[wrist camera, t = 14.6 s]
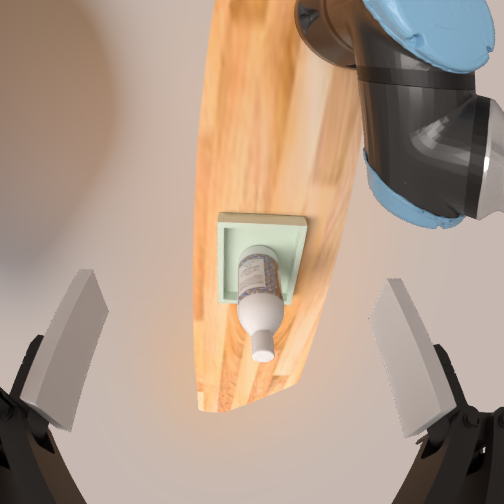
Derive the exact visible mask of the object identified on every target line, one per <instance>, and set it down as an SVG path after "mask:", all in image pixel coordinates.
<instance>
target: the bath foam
mask: <svg viewBox="0 0 504 504" xmlns="http://www.w3.org/2000/svg"><path fill="white" fill-rule="evenodd" d="M237 312H238V317H239V321H240V323H241V325H242V326H243V328H244V329H245V330H246V332H247V333H248V334H249V335H250V336H251V337H252V357H253V359H254V360H255V361H257V362H268V361H271V360H272V359H273V358H274V356H275V354H274V342H273V335H274V334H275V332H276V331H277V330H278V328H279V327H280V325H281V323H282V320H283V316H284V302H283V294H282V287H281V280H280V273H279V266H278V260H277V256H276V254H275V253H274V252H273V251H272V250H271V249H269V248H267V247H264V246H252V247H249V248H247V249H246V250H244V251H243V252H242V253H241V255H240V256H239V259H238V294H237Z"/></svg>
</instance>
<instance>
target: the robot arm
mask: <svg viewBox="0 0 504 504" xmlns="http://www.w3.org/2000/svg"><path fill="white" fill-rule="evenodd" d="M294 17H295V23H296V27H297V30H298V32H299V34H300V36H301V38H302V40H303V41H304V42H305V44H306V45H307V46H308V47H309V48H310V50H312V51H313V52H314V53H315V54H316V55H317V56H319V57H320V58H322V59H323V60H325V61H327V62H329V63H331V64H333V65H336V66H339V67H343V68H349V69H357V75H358V85H359V93H360V101H361V110H362V120H363V131H364V144H365V147H364V149H363V152H364V153H363V155H364V160H365V162H366V165H367V175H368V183H369V186H370V189H371V190H372V192H373V195H374V196H375V198H376V199H377V201H378V202H379V203H380V204H381V205H382V206H383V207H384V208H385V209H387V210H388V211H389V212H391V213H392V214H393V215H395V216H397V217H399V218H400V219H402V220H404V221H406V222H409V223H411V224H414V225H417V226H421V227H425V228H430V229H436V227H437V226H438V225H439V226H440V227H442V228H443V229H446V228H451V227H454V226H456V225H458V224H459V223H460V222H461V221H462V220H463V219H464V218H465V217H466V216H468V217H471V218H474V219H477V220H481V219H483V218H485V217H486V216H488V215H490V214H491V213H493V212H496V211H501V212H504V112H503V111H502V109H501V108H500V106H499V105H498V104H497V103H496V101H495V100H493V99H490V98H487V97H483V96H479V95H477V94H476V91H475V70H477V69H479V68H480V67H482V66H484V65H485V64H486V63H487V61H488V60H489V55H488V53H489V52H492V51H493V49H494V45H495V29H494V23H493V19H492V16H491V13H490V10H489V7H488V5H487V3H486V1H485V0H297V1H296V4H295V10H294ZM108 312H109V311H108V308H107V306H106V303H105V301H104V298H103V296H102V293H101V290H100V288H99V285H98V283H97V280H96V277H95V274H94V271H93V270H89V269H79V270H78V272H77V274H76V276H75V277H74V279H73V281H72V282H71V284H70V286H69V288H68V290H67V292H66V294H65V295H64V297H63V299H62V301H61V303H60V305H59V307H58V309H57V311H56V313H55V315H54V317H53V319H52V321H51V323H50V325H49V328H48V329H47V332H46V334H45V336H43V335H37V337H36V338H35V339H34V340H33V341H32V342H31V343H30V345H29V348H28V350H27V352H26V356H25V357H24V359H23V361H22V362H23V363H22V364H21V366H20V369H19V371H18V374H17V376H16V379H15V381H14V384H13V387H12V389H11V392H10V394H9V395H8V394H7V393H6V392H5V391H4V390H3V389H2V388H1V387H0V504H87V503H86V502H85V500H84V498H83V497H82V495H81V493H80V491H79V489H78V488H77V486H76V484H75V482H74V480H73V479H72V477H71V475H70V473H69V471H68V469H67V467H66V465H65V463H64V461H63V458H62V456H61V454H60V452H59V450H58V447H57V445H56V443H55V441H54V438H53V436H52V433H51V431H50V430H49V428H48V425H49V423H51V424H52V425H53V426H55V427H56V428H59V429H62V430H65V431H68V432H71V429H72V425H73V421H74V417H75V413H76V409H77V406H78V402H79V399H80V395H81V392H82V388H83V385H84V381H85V378H86V375H87V372H88V369H89V366H90V363H91V359H92V356H93V353H94V351H95V348H96V345H97V341H98V339H99V336H100V334H101V331H102V328H103V325H104V322H105V320H106V317H107V315H108ZM368 319H369V321H370V324H371V327H372V330H373V333H374V336H375V339H376V342H377V344H378V348H379V351H380V354H381V357H382V360H383V363H384V367H385V370H386V373H387V376H388V380H389V383H390V386H391V390H392V393H393V397H394V400H395V404H396V408H397V411H398V415H399V419H400V423H401V426H402V431H403V435H404V438H407V437H411V436H414V435H418V434H420V433H421V432H423V431H424V430H426V429H427V432H428V434H426V435H425V436H423V437H422V438H420V439H419V440H418V441H417V442H416V444H417V445H418V444H419V443H421V442H423V443H422V445H421V447H420V450H419V452H418V454H417V456H416V458H415V460H414V463H413V465H412V467H411V469H410V471H409V473H408V475H407V477H406V479H405V481H404V483H403V484H402V486H401V488H400V490H399V492H398V493H397V495H396V497H395V499H394V500H393V502H392V504H504V407H500V408H498V409H497V410H496V411H494V412H493V413H485V412H479V411H478V410H477V409H476V408H475V407H473V406H469V405H468V404H467V402H466V400H465V397H464V394H463V391H462V389H461V386H460V384H459V381H458V378H457V376H456V374H455V373H454V369H453V366H452V365H451V361H450V359H449V357H448V354H447V353H446V351H445V350H444V349H443V348H442V347H441V346H440V344H437V345H433V344H432V342H431V340H430V337H429V335H428V333H427V331H426V329H425V326H424V324H423V322H422V320H421V318H420V316H419V314H418V312H417V309H416V307H415V306H414V303H413V301H412V300H411V297H410V295H409V294H408V292H407V290H406V288H405V286H404V284H403V282H402V280H401V279H387V280H386V282H385V284H384V287H383V289H382V291H381V293H380V295H379V297H378V300H377V302H376V304H375V306H374V308H373V310H372V312H371V314H370V317H369V318H368ZM484 447H486V448H485V453H483V448H484Z"/></svg>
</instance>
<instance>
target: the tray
mask: <svg viewBox="0 0 504 504" xmlns="http://www.w3.org/2000/svg"><path fill="white" fill-rule="evenodd" d="M307 227H308V226H307V223H306V220H305V217H304V216H289V215H270V214H249V213H224V212H219V215H218V222H217V247H218V303H234V304H237V294H238V259H239V256H240V255H241V253H242V252H243V251H244V250H246V249H247V248H249V247H252V246H264V247H267V248H269V249H271V250H272V251H273V252H274V253H275V254H276V256H277V260H278V266H279V273H280V280H281V287H282V294H283V302H284V305H291V302H292V297H293V293H294V288H295V284H296V279H297V275H298V270H299V266H300V261H301V256H302V252H303V247H304V242H305V237H306V232H307Z"/></svg>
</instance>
